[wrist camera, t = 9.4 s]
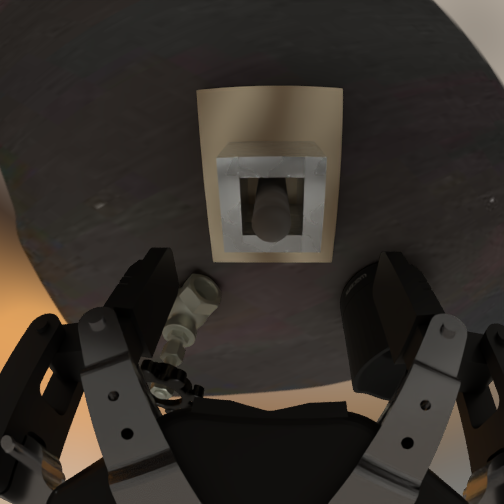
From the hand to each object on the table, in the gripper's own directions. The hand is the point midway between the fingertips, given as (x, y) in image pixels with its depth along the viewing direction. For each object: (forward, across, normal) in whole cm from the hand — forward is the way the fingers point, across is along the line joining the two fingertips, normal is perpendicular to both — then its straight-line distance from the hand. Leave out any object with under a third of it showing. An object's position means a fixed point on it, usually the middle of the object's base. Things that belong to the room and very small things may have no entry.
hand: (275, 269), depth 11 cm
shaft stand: (+13, 0, 0) cm, 13 cm away
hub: (+12, 0, 0) cm, 12 cm away
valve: (+13, +8, +12) cm, 20 cm away
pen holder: (+14, -11, +12) cm, 21 cm away
